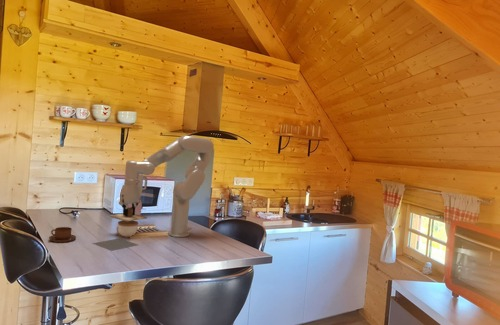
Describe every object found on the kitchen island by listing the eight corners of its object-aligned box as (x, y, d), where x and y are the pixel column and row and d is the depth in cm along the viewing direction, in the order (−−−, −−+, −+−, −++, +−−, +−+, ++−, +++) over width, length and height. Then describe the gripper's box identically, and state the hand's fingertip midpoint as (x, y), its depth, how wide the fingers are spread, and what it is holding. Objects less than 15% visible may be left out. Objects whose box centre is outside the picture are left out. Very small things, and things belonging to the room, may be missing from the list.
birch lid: (131, 214, 203) (131, 205, 202) (146, 218, 195) (147, 209, 195) (109, 216, 191) (110, 207, 191) (125, 221, 183) (126, 211, 183)
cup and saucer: (45, 243, 166) (46, 231, 166) (52, 237, 178) (53, 225, 178) (72, 244, 170) (73, 231, 170) (77, 238, 181) (78, 226, 181)
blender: (126, 219, 233) (130, 172, 232) (119, 216, 241) (122, 170, 240) (148, 218, 243) (151, 173, 242) (140, 214, 252) (144, 171, 251)
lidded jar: (130, 239, 187) (132, 222, 187) (113, 236, 189) (114, 219, 189) (140, 235, 197) (142, 218, 197) (123, 232, 199) (125, 216, 199)
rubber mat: (119, 239, 186) (119, 238, 186) (139, 245, 177) (139, 244, 177) (92, 244, 172) (92, 243, 172) (111, 251, 164) (111, 250, 164)
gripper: (139, 181, 201) (136, 212, 202) (114, 182, 187) (111, 215, 188) (147, 183, 197) (145, 214, 198) (122, 184, 183) (120, 218, 184)
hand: (128, 214), depth 193 cm, fingers closed on birch lid, 3 cm apart
